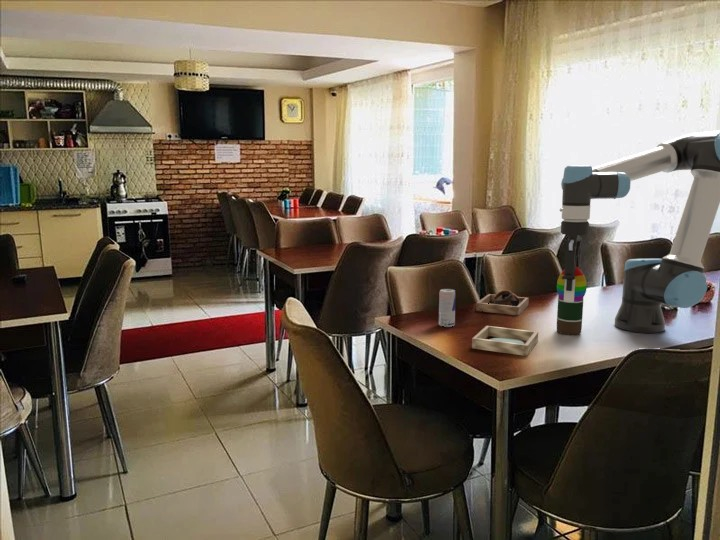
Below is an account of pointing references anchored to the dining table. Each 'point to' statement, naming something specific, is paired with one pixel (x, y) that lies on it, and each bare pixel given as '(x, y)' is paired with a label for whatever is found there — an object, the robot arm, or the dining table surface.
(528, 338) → the shallow wooden tray
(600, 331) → the dining table surface
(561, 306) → the beer bottle
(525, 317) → the dining table surface
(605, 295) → the dining table surface
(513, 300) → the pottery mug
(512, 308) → the weathered wood tray
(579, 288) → the decorative egg
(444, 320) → the energy drink
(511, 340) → the pad
